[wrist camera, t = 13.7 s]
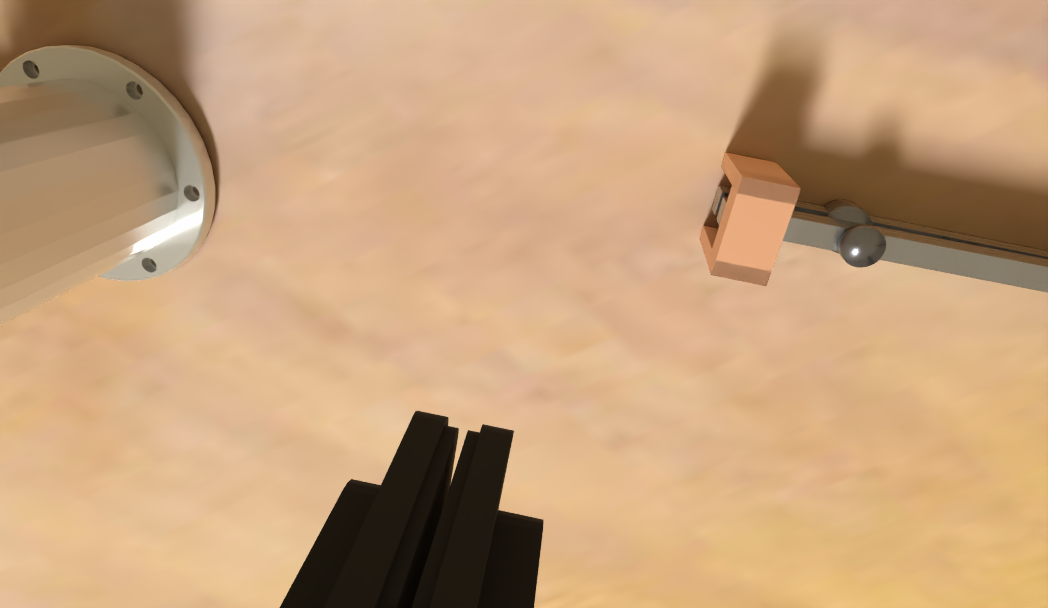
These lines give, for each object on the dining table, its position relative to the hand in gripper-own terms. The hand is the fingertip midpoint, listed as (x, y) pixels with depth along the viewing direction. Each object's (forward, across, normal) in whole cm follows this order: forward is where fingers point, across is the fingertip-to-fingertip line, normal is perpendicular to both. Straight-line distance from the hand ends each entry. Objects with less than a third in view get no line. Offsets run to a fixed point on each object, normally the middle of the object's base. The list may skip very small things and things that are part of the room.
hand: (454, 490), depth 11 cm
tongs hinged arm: (+22, -19, 0) cm, 29 cm away
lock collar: (+24, -9, 0) cm, 25 cm away
